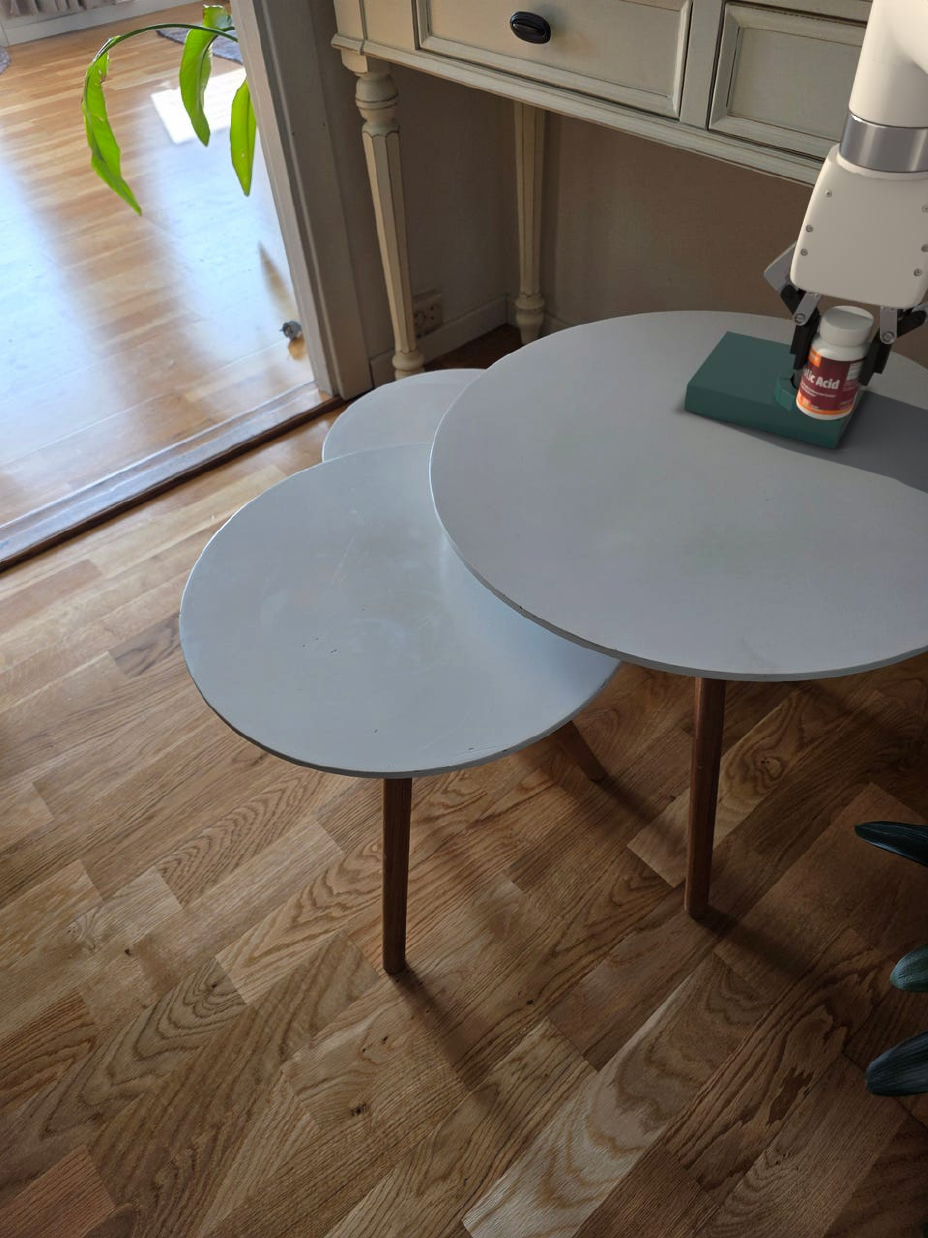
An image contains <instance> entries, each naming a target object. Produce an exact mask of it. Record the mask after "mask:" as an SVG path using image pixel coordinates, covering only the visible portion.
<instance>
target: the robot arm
mask: <svg viewBox="0 0 928 1238" xmlns="http://www.w3.org/2000/svg"><path fill="white" fill-rule="evenodd" d="M851 89H852V90H851V93H850V97H849V101H848V107H847V111H846V115H845V120H844V125H843V128H842V132H841V137H840V142H839V143H837V144H834V145H833V146H831V148H830V150H829V152H828V154H827V155H826V158H825V160H824V162H823V164H822V167H821V170H820V171H819V174H818V177H817V180H816V182H815V185H814V187H813V190H812V194H811V197H810V200H809V202H808V206H807V209H806V212H805V214H804V218H803V222H802V226H801V228H800V232H799V235H798V239H797V240H795V241H794V242H793V243H792V244H791V245H790V246H788V247H787V248H786V249H785V250H784V251H783V252H782V253H780V254H779V255H778V256H777V257H775V259H774V260H772V262H770V263H769V264H768V266H767V267H766V268H765V270H764V271H763V278H764V279H765V280H766V281H767V282H768V283H769V284H770V285H771V287H772V288H773V289H774V290H775V291H776V292H778V293H779V295H780V298H781V300H782V302H783V303H784V305H785V306H786V307H787V310H789V312H790V313H791V314H792V322H793V323H794V324H795V327H794V332H793V335H792V336H793V337H792V341H791V344H790V345H791V349H790V354H794V355H796V357H795V361H794V365H793V369H794V370H798V371H799V370H800V369H801V370H802V369H803V367H804V365H805V364H806V360H807V356H808V352H809V348H810V344H811V340H812V338H813V337H814V335H815V334H816V333H817V332H818V331H819V325H820V323H821V319H822V315H821V313H820V312H821V311H820V309H819V307H818V306H819V304H820V302H821V300H822V299H823V297H824V296H827V297H832V298H835V299H836V298H837V299H841V300H846V301H851V302H857V303H862V304H866V305H867V304H868V305H872V306H877V307H879V327H878V329H877V330H876V333H875V335H874V336H873V338H872V340H871V344H870V347H869V351H868V354H867V357H866V360H865V364H864V367H863V370H862V373H861V377H860V380H859V383H861V385H863V386H867V387H868V386H869V384H870V382H871V380H872V378H873V376H874V375H875V374H879V375H882V374H883V372H884V370H885V368H886V365H887V363H888V360H889V357H890V354H891V351H892V347H893V345H894V343H895V342H896V340H897V339H899V338H900V337H903V336H904V335H906V334H908V333H910V332H912V331H914V330H916V329H919V327H921V326H923V325H924V324H926V323H928V300H926V301H925V302H923V303H922V300H923V298H924V296H925V295H926V292H928V0H872V3H871V7H870V12H869V17H868V21H867V24H866V29H865V33H864V38H863V42H862V47H861V51H860V56H859V59H858V64H857V67H856V72H855V77H854V81H853V85H852V88H851Z"/></svg>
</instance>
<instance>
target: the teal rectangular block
mask: <svg viewBox="0 0 928 1238" xmlns="http://www.w3.org/2000/svg"><path fill="white" fill-rule="evenodd" d="M790 349H791V344H787V343H783V342H778V341H774V340H769V339H766V338H760V337H756V336H751V335H747V334H743V333H737V332H732V331H728V330H727V331H726V332H725V333H724V335H723V336H722V337H721V338H720V340H719V341H718V343H717V344H716V345H715V347H714V348H713V350H712V351H711V352H710V353H709V355H708V356H707V357H706V358H705V359H704V361H703V363H702V364H701V365H700V367H698V369H697V371H696V372H695V373H694V374H693V375H692V377H691V379H689V381H688V382H687V384H686V390H685V397H684V405H683V410H684V411H686V412H690V413H694V414H699V415H703V416H706V417H709V418H713V419H718V420H721V421H725V422H729V423H732V424H737V425H740V426H744V427H748V428H752V429H756V430H760V431H764V432H767V433H771V434H774V435H778V436H783V437H787V438H789V439H794V440H797V441H801V442H805V443H809V444H811V445H812V444H813V445H816V446H820V447H824V448H827V449H828V448H829V449H832V450H835V449H836V447H837V445H838V443H839V441H840V440H841V437H842V436H843V435H844V433H845V430H846V428H847V426H848V424H849V422H850V420H851V418H852V416H853V414H854V413H855V410H856V408H858V405H859V403H860V401H861V398H863V395H864V393H865V391H866V389H867V387H868V386H863V385H861V383H860V386H859V389H858V392H857V396H856V399H855V402H854V405H853V408H852V410H851V412H850V413H849V414H847V415H846V416H844V417H842V418H838V419H834V420H822V419H817V418H813V417H811V416H809V415H807V414H805V413H804V412H803V411H801V410H800V409H799V407H798V406H797V402H796V400H797V395H798V391H799V390H797V389H796V388H794V386H793V380H794V376H795V372H796V370H794V369H793V365H794V361H795V357H796V355H794V354H790Z"/></svg>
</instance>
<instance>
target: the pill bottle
mask: <svg viewBox="0 0 928 1238" xmlns="http://www.w3.org/2000/svg"><path fill="white" fill-rule="evenodd" d="M874 325H875V317H874V315H873V314H872V313H870V312H869V311H868V310H866V309H864V308H862V307H861V308H860V307H859V306H858V307H857V306H853V305H837V306H832V307H830V308H828V309H826V310H825V311H824V312H823V314H822V315H821V318H820V322H819V326H818V331H817V333H816V334H815V335H814V337H813V338H812V340H811V344H810V348H809V352H808V356H807V360H806V364H805V368H804V372H803V375H802V380H801V383H800V387H799V391H798V395H797V400H796V402H797V406H798V407H799V409H800V410H801V411H803V412H804V413H805V414H807V415H809V416H811V417H813V418H817V419H822V420H834V419H838V418H842V417H844V416H846V415H847V414H849V413H850V412H851V410H852V408H853V405H854V402H855V399H856V396H857V392H858V389H859V386H860V383H859V380H860V377H861V373H862V370H863V367H864V364H865V360H866V357H867V354H868V351H869V347H870V344H871V342H872V340H871V339H870V338H871V335H872V334H873V333H872V332H873V330H874Z"/></svg>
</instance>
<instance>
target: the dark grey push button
mask: <svg viewBox="0 0 928 1238" xmlns="http://www.w3.org/2000/svg"><path fill="white" fill-rule="evenodd" d="M804 368H805V365H804V367H803V369H802V370H801V369H800V370H799V371H798V370H796V372H795V376H794V380H793V386H794V388H796V389H797V390H799V387H800V383H801V380H802V375H803V372H804Z"/></svg>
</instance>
